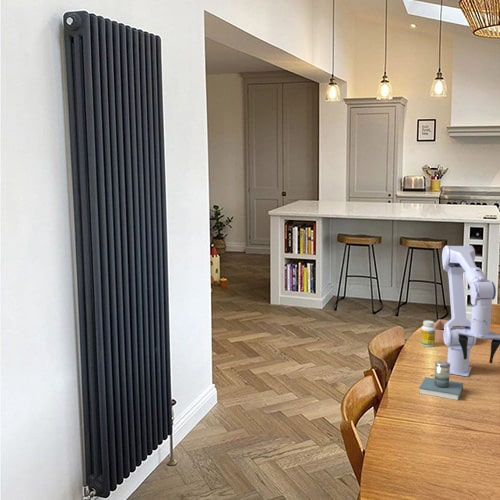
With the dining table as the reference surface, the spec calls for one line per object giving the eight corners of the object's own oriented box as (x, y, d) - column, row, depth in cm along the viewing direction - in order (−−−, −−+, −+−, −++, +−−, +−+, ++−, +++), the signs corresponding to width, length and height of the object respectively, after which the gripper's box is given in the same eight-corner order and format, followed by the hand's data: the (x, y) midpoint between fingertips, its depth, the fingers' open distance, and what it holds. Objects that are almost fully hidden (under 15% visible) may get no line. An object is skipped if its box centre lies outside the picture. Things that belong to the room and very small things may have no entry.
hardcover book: (425, 383, 207) (425, 377, 206) (462, 390, 201) (463, 383, 201) (418, 394, 198) (419, 387, 197) (458, 401, 193) (458, 394, 192)
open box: (437, 328, 269) (438, 319, 268) (479, 333, 261) (480, 324, 260) (430, 339, 254) (430, 329, 253) (474, 345, 246) (474, 335, 245)
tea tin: (433, 381, 202) (435, 360, 201) (448, 383, 201) (450, 362, 200) (434, 385, 198) (435, 364, 197) (449, 387, 196) (450, 365, 196)
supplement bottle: (426, 342, 250) (428, 319, 248) (437, 345, 245) (438, 322, 244) (417, 344, 247) (418, 321, 245) (428, 348, 242) (429, 324, 241)
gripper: (454, 319, 195) (452, 360, 197) (504, 325, 189) (501, 368, 191) (458, 313, 201) (455, 354, 204) (506, 319, 195) (503, 361, 197)
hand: (478, 360), depth 198 cm, fingers open, 7 cm apart
